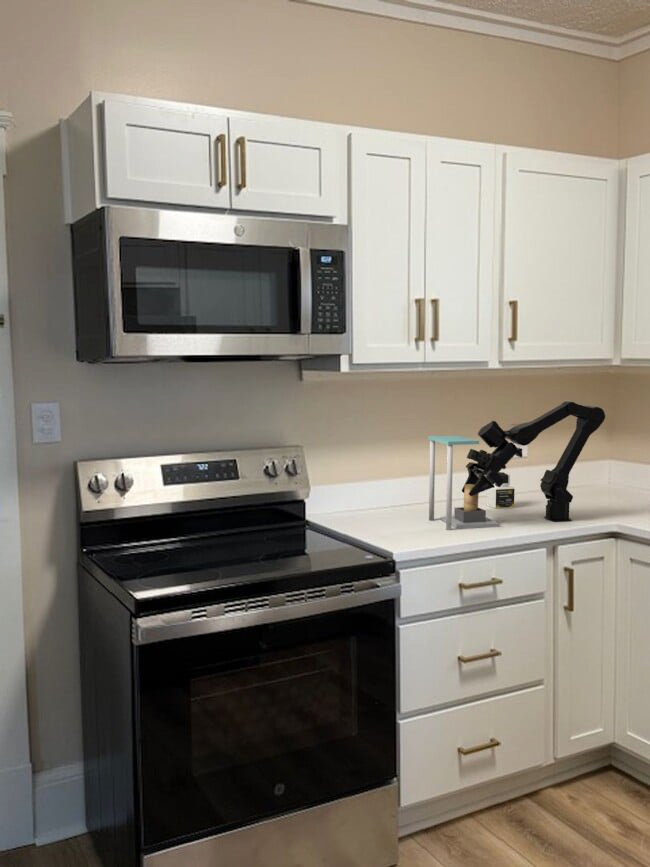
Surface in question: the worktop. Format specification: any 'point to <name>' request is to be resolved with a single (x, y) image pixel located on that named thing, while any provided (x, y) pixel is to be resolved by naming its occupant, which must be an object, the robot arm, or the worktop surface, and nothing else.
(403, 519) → the worktop surface
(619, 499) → the worktop surface
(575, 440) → the robot arm
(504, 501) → the medicine bottle
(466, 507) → the tan domed cylinder
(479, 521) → the awning socket
